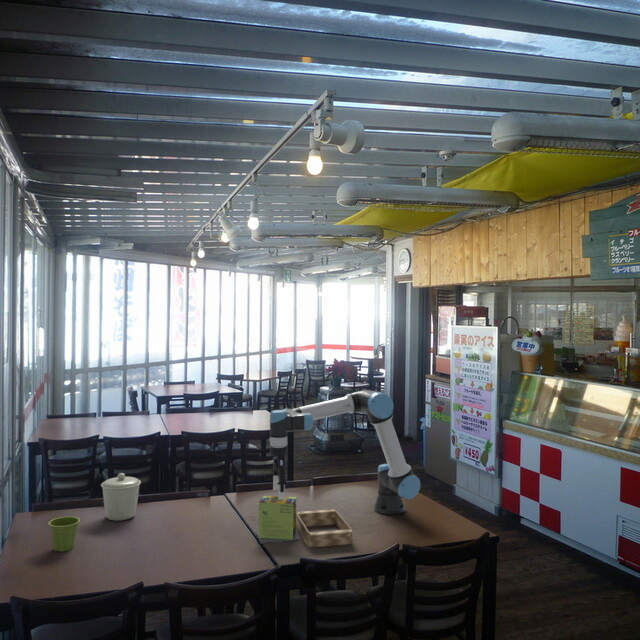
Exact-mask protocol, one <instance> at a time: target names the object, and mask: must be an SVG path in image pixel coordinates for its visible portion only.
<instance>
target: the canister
mask: <svg viewBox="0 0 640 640" xmlns="http://www.w3.org/2000/svg"><path fill="white" fill-rule="evenodd" d="M141 484H142V481H141V480H140V479H138V478H137V477H133V476H126V473H123V472H119V473H118V474H117V476H115V477H112V478H111V477H110V478H108V479H106V480H104V481H103V482H102V483H101V484H100V486H101V488H102V495H103V497H102V498H103V505H104V513H105V517H106V518H107V519H108V520H110V521H114V522H115V521H118V522H120V521H126V520H129V519H133V517H134V516H135V515H136V512H137V506H138V501H139V500H138V499H139V491H140V485H141Z"/></svg>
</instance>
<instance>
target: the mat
mask: <svg viewBox="0 0 640 640" xmlns="http://www.w3.org/2000/svg"><path fill="white" fill-rule="evenodd" d="M258 532H259V531H256V535H258ZM258 541H259V543H260V544H266V543H265V542H273V543H283V542H282V541H286V542H293V541H294V542H296V541H297V542H298V541H300V537H299V535H298V533H297V532H296V533H295V536H294V538H293V540H287V539H265V538H259V539H258ZM280 541H281V542H280Z"/></svg>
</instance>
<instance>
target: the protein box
mask: <svg viewBox="0 0 640 640" xmlns="http://www.w3.org/2000/svg"><path fill="white" fill-rule="evenodd" d="M296 514H297V496H285V499H280V500H279V499H278V495H277V496H276V495H275V496H274V495H263V496H262V497H261V500H259V502H258V531H257V532H258V536H257V538H265V539H287V540H293V538H294V536H295V533H297V527H296Z"/></svg>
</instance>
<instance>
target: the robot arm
mask: <svg viewBox="0 0 640 640" xmlns="http://www.w3.org/2000/svg"><path fill="white" fill-rule="evenodd" d="M394 407H395V406H394V402H393V399H392V398H391V397H390V395H388V394H386V393H385V392H382V391H377V390H372V389H363V390H359V391H354V392H350V393H347V394H345V395H344V396H343V397H337V398H334V399H330V400H326V401H321V402H317V403H313V404H308V405H304V406H303V405H302V406H299V407H295V408H283V409H276V410H275V409H274V410H272V411H271V412H270V414H269V439H268V441H269V442H270V443H269V445H270V447H269V449H270V450H269V454H270V456H271V457H273V458H272V459H273V461H272V471H271V472H272V475H273V476H272V478H273V479H272V481H273V482H272V486H273V487H272V490H273V491H278V495H277V496H278V499H279V500H280V499H285V497H286V484H287V481H286V480H287V479H286V467H285V459H283V457H285V456H287V455H288V433H289V432H291V433H292V432H301V431H303V432H304V431H308V430H309V431H310V430H312V429H313V428H314V421H316V420H320V419H321V420H322V419H325V418H329V417H334V416H338V415H341V414H346V413H348V414H355V413H361V414H366V415H367V418H368V421H369V424H371V425H372V426H374V428H375V431H376V435H377V437H378V440H379V443H380V446H381V449H382V452H383V454H384V457H385V461H386V463H382V464H379V465H378V467H377V496H376V499H375V501H374V504H373V506H374V507H373V509H374V511H375V512H376V513H378V514H381V515H388V516H389V515H392V516H393V515H400V514H402V513H404V512H405V504H404V500H403V499H406V500H411V499H413V498H415V497H416V496H417V494H418V493H419V492H420V490H421V481H420V478H419V477H418V475H417V476H416V475H415V474H414V473H413V469H412V467H411V465H410V464H408V463H407V462H406V458H405V456H404V453H403V450H402V447H401V444H400V441H399V438H398V436H397V432H396V430H395V427H394V423H393V420H392V419H393V417H394V413H393V412H394Z"/></svg>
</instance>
